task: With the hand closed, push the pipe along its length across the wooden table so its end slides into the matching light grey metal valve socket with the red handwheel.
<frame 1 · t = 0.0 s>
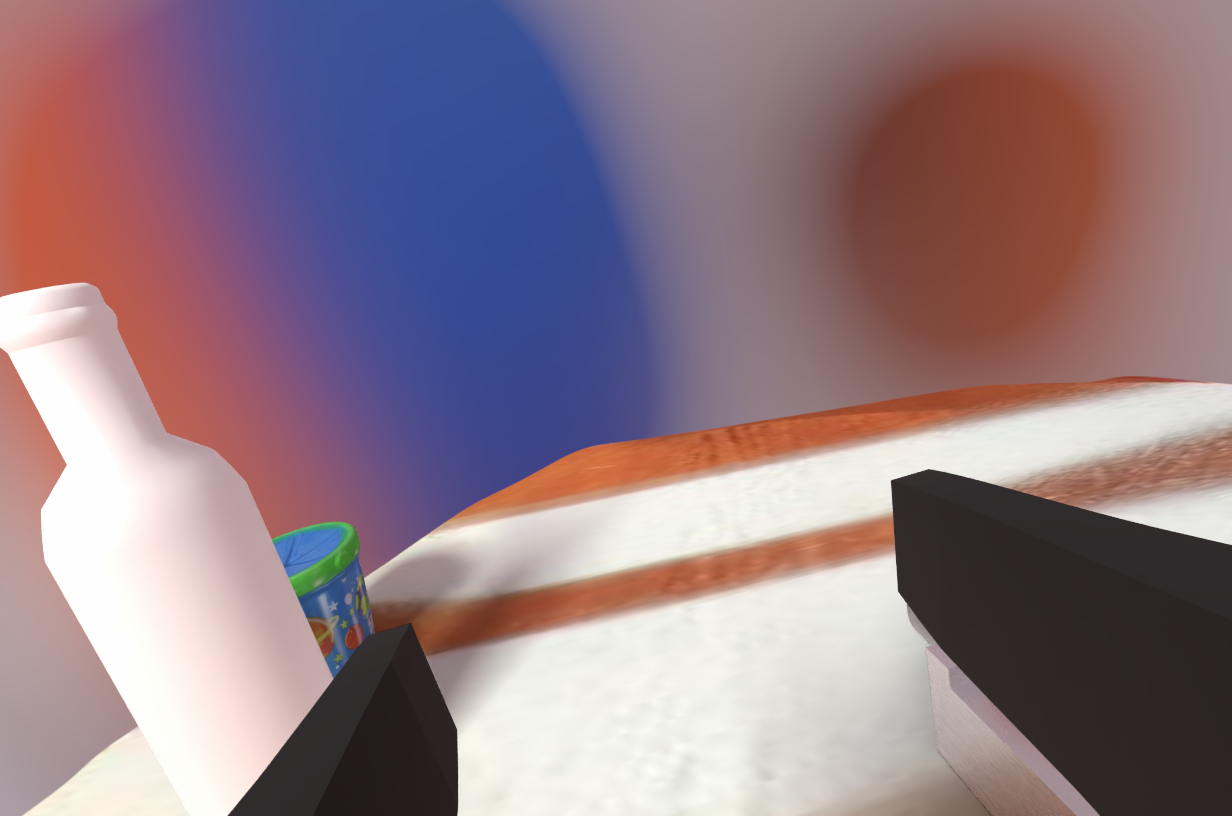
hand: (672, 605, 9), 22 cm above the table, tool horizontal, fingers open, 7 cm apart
valve socket: (1145, 802, 25), on the table
snack cup: (331, 670, 48), on the table
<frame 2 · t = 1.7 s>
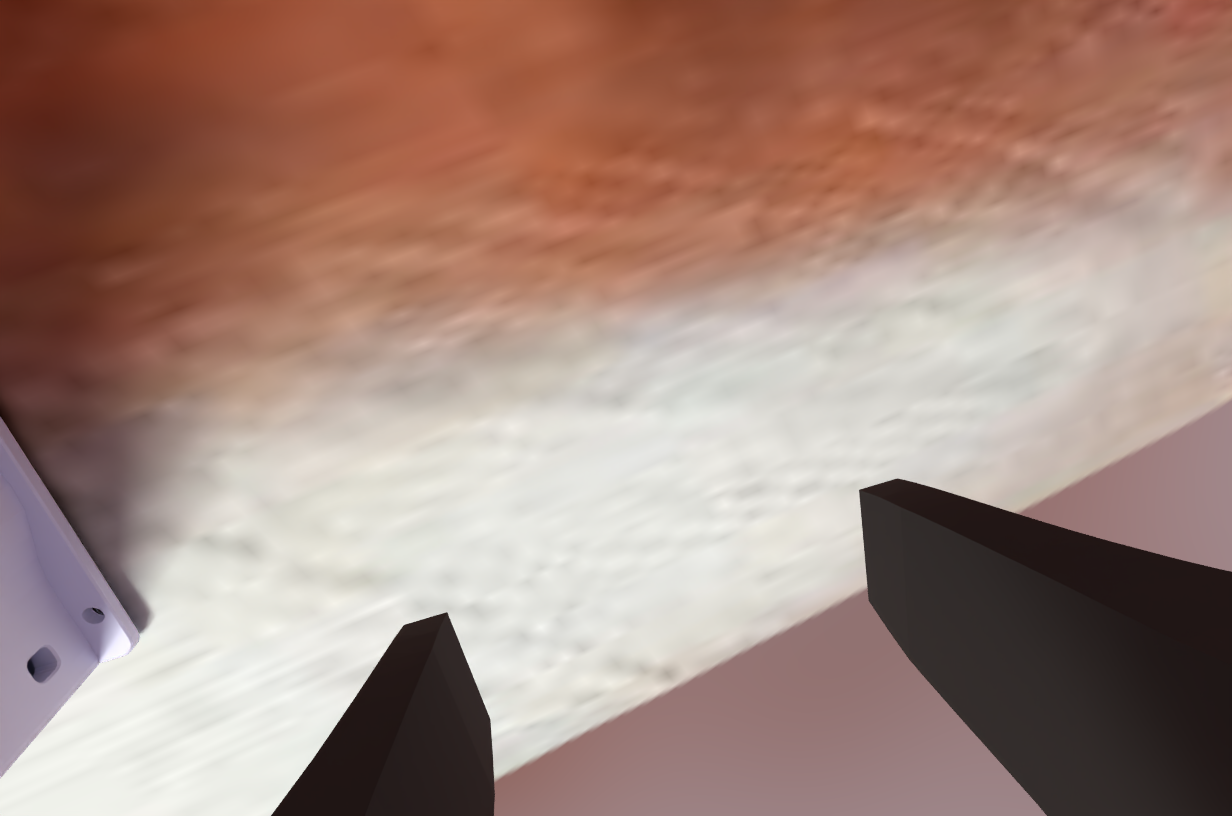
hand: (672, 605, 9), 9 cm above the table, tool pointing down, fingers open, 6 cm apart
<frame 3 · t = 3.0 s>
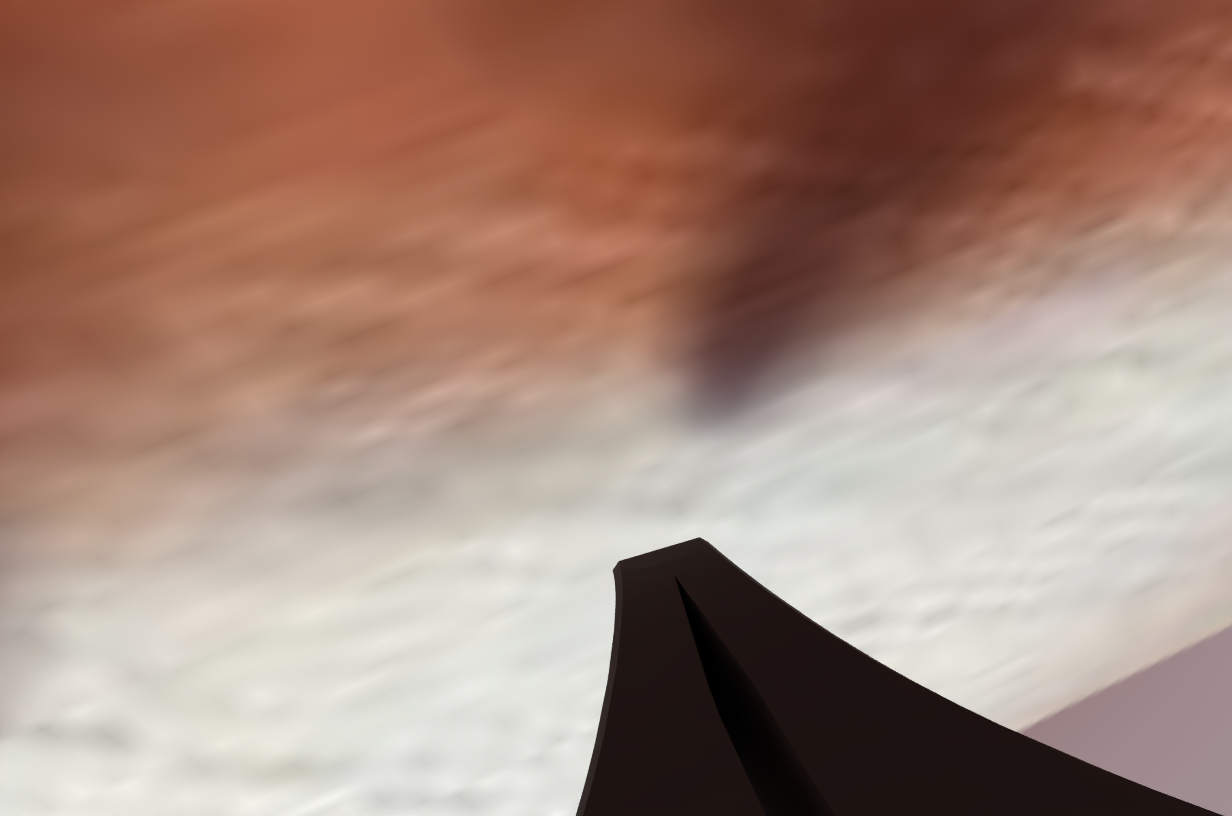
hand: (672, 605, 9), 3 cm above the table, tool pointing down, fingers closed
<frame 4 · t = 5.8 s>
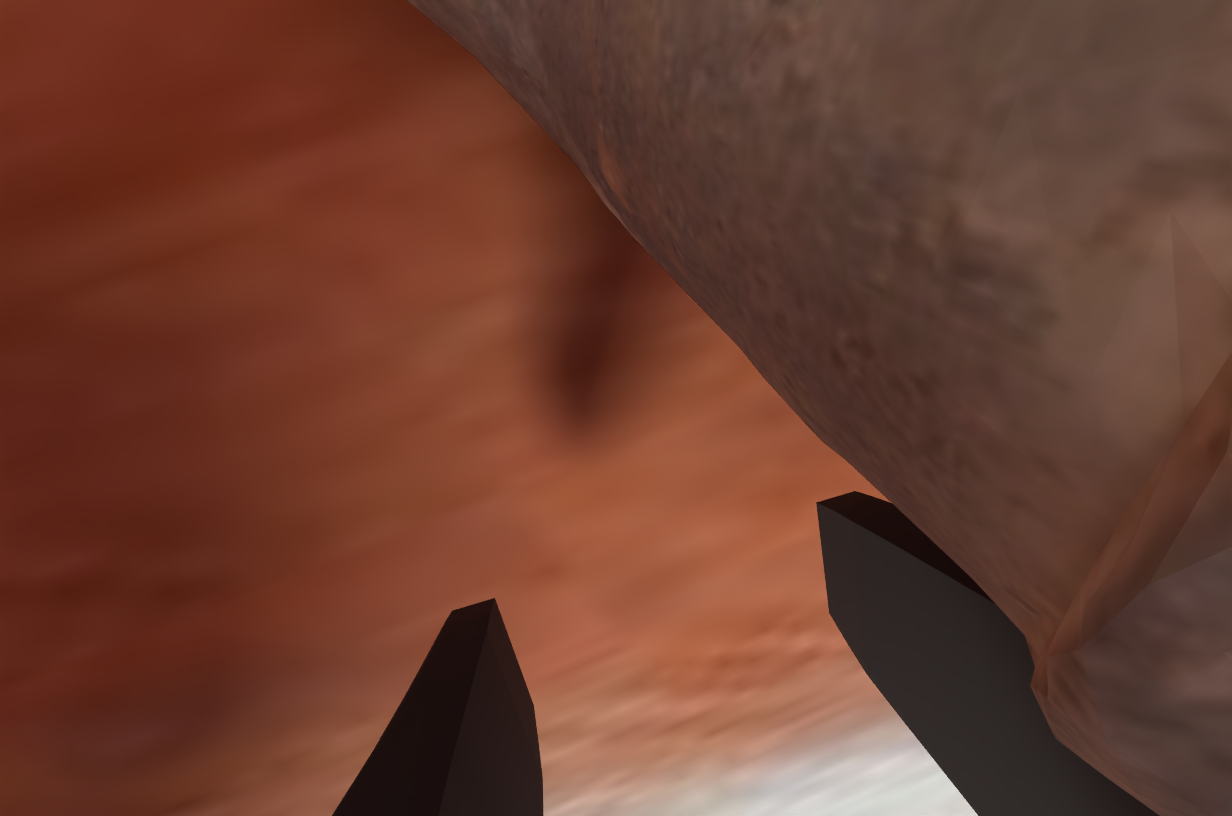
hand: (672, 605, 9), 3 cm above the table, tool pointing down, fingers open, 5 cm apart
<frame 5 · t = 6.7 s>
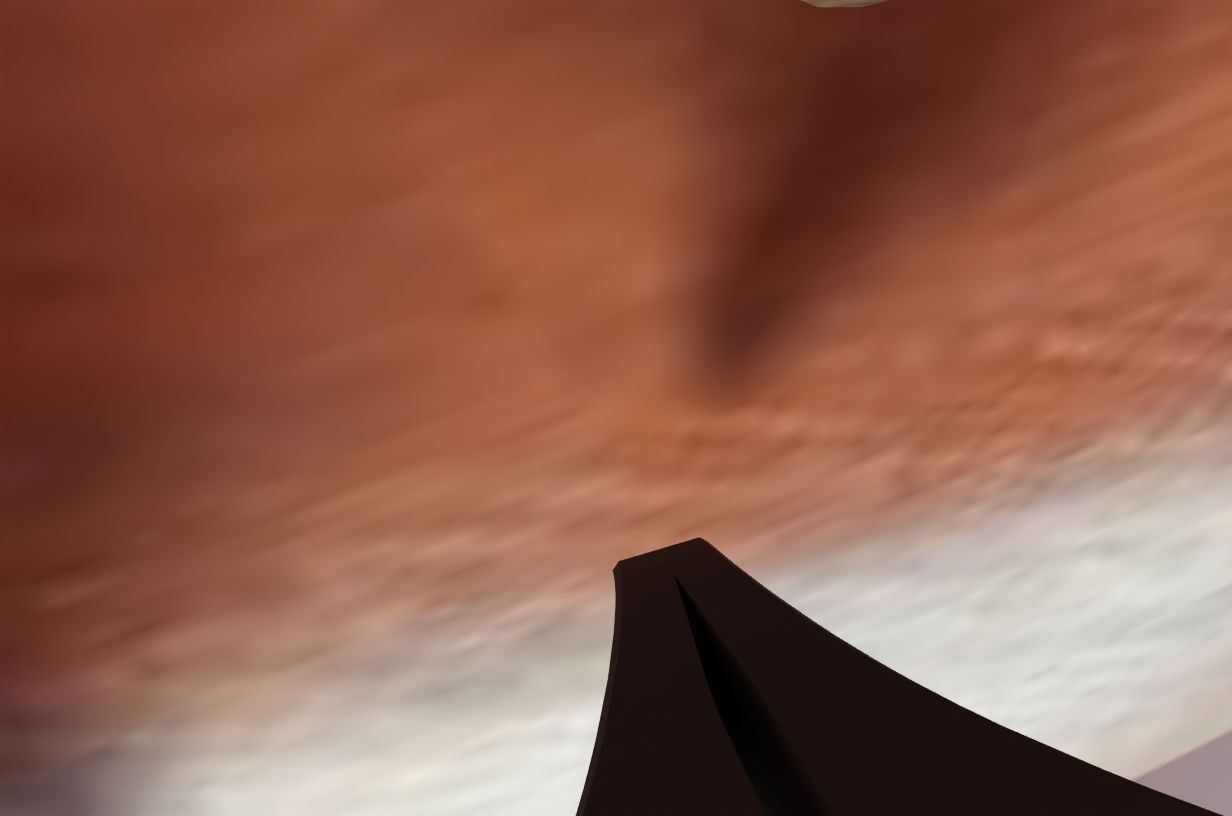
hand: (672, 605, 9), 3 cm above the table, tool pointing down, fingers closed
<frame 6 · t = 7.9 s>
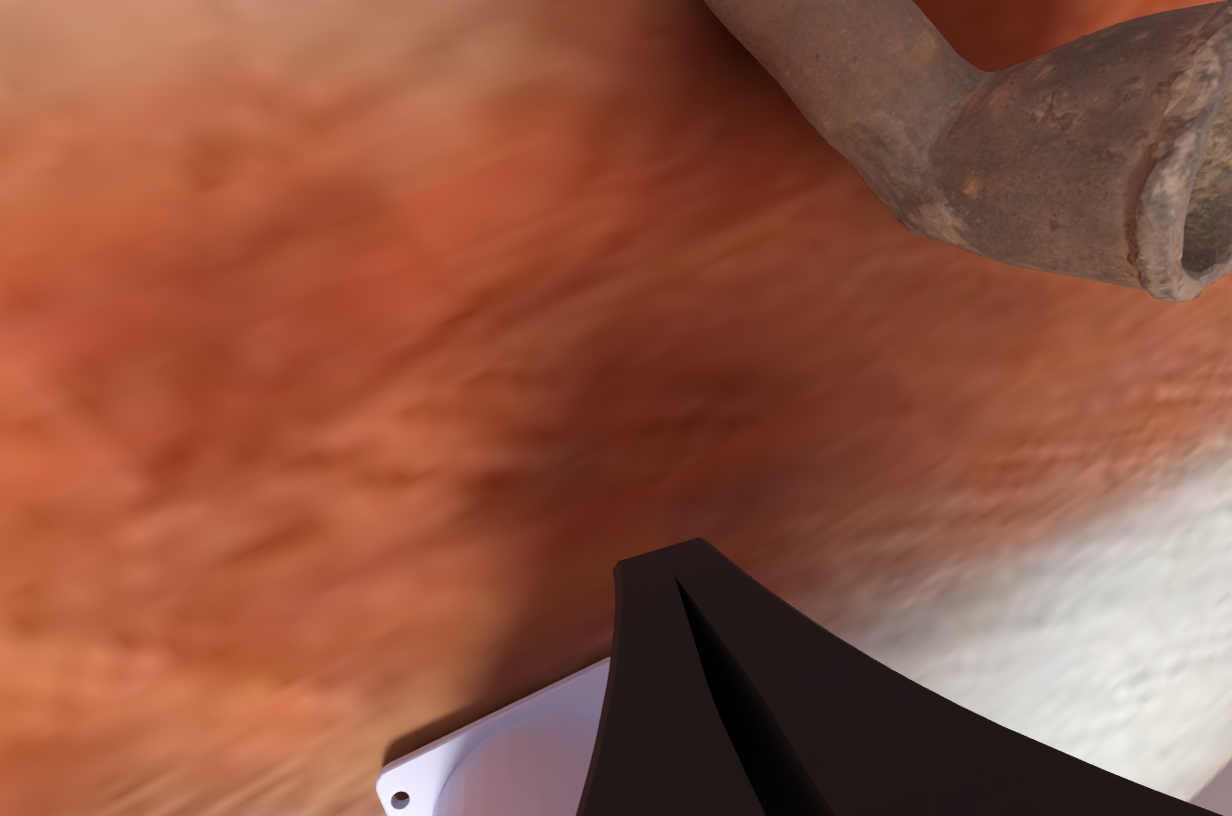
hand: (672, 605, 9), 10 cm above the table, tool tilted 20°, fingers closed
pipe: (837, 129, 21), on the table
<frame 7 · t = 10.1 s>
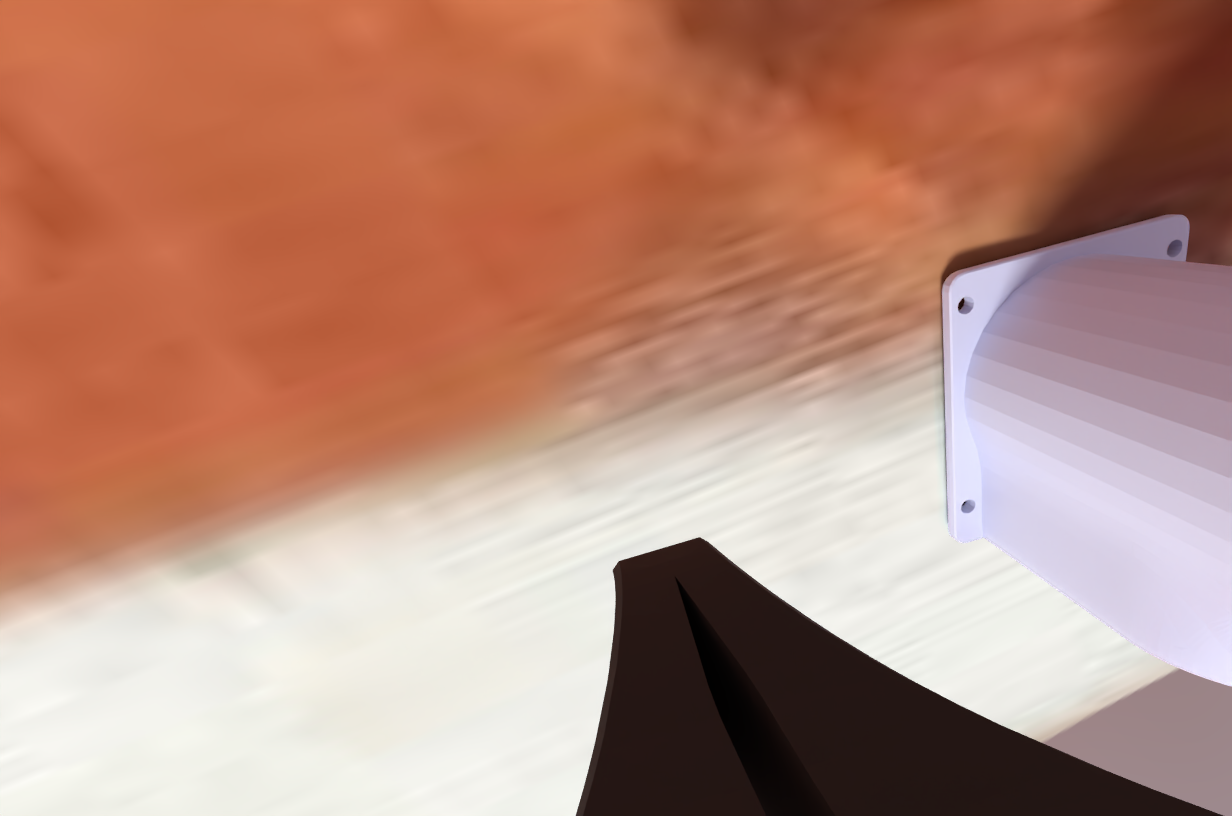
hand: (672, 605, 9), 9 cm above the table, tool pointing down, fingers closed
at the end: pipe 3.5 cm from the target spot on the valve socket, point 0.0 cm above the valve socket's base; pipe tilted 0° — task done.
